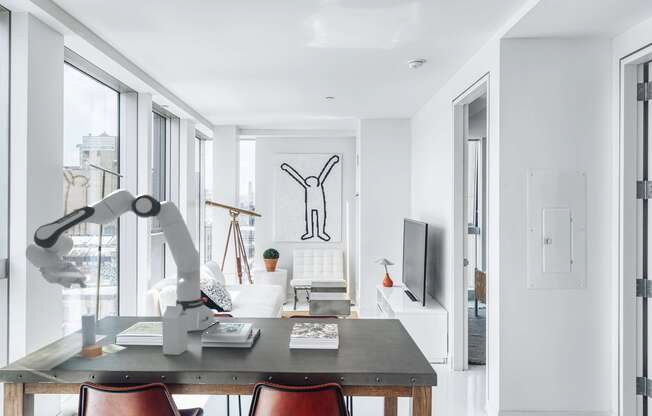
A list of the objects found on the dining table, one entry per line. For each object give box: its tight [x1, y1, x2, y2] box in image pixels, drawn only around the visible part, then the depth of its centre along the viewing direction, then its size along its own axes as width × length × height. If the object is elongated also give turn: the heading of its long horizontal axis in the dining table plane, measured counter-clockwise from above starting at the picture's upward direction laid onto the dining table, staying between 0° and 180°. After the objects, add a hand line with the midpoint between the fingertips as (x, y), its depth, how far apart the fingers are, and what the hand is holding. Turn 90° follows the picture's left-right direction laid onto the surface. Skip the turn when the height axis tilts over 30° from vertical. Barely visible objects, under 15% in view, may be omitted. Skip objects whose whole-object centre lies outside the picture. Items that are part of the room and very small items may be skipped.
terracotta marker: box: [82, 344, 103, 357], centre depth 180 cm, size 5×5×3 cm
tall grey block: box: [81, 313, 97, 349], centre depth 191 cm, size 5×5×14 cm
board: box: [74, 343, 127, 361], centre depth 184 cm, size 16×11×1 cm
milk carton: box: [161, 305, 188, 356], centre depth 185 cm, size 7×7×19 cm
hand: (77, 286), depth 193 cm, fingers open, 8 cm apart
